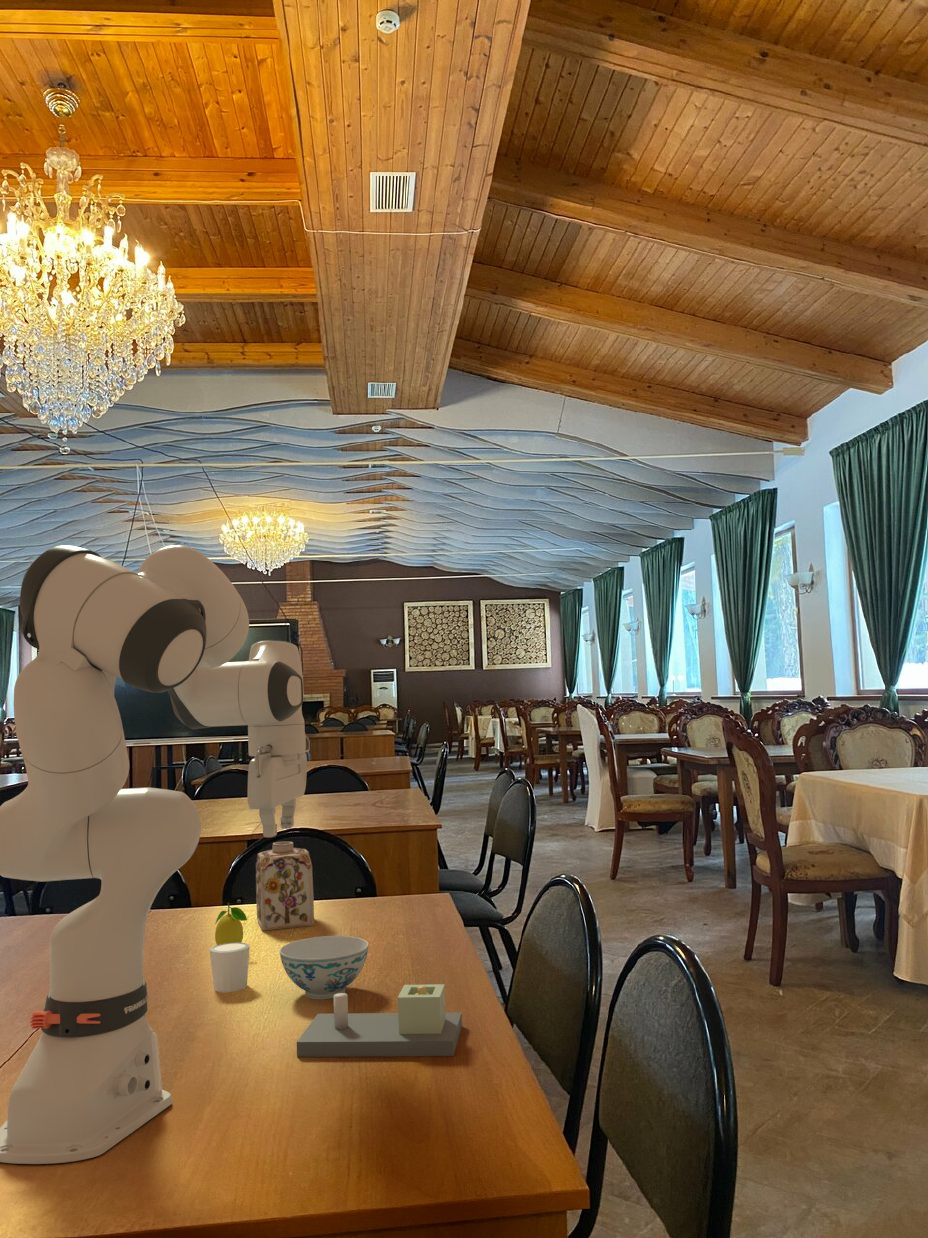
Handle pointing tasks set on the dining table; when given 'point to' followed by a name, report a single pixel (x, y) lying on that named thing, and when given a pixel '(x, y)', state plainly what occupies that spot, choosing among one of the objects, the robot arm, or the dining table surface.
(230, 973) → the shot glass
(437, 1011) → the collar block
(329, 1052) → the stand board
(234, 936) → the lemon
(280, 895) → the decorative jar
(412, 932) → the dining table surface
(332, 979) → the chinaware
